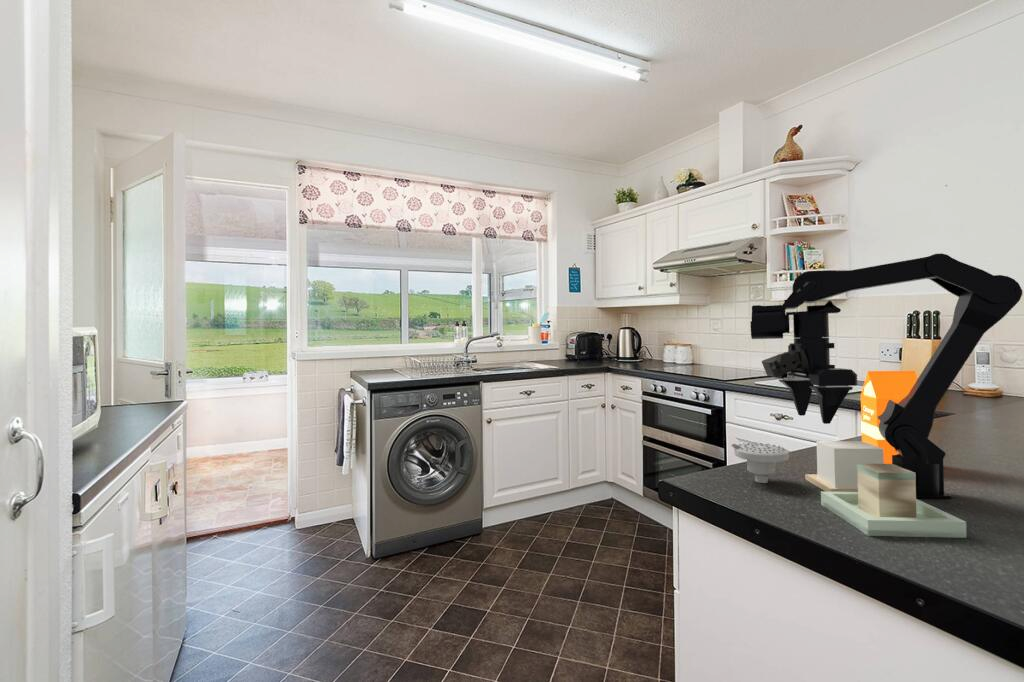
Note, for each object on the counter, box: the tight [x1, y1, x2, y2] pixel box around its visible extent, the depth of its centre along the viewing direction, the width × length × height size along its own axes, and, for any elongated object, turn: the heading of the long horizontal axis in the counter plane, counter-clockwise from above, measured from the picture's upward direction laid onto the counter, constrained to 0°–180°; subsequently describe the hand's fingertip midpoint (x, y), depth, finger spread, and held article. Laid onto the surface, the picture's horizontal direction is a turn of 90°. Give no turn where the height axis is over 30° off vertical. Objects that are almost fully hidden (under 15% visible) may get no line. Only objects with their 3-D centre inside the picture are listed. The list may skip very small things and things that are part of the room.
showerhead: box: [730, 442, 790, 484], centre depth 91 cm, size 9×7×10 cm
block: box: [857, 464, 917, 518], centre depth 71 cm, size 5×5×7 cm
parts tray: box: [820, 490, 967, 539], centre depth 71 cm, size 12×12×2 cm
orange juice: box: [860, 370, 919, 464], centre depth 100 cm, size 8×9×20 cm
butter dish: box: [804, 440, 884, 492], centre depth 87 cm, size 10×9×8 cm
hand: (813, 419), depth 90 cm, fingers open, 9 cm apart
